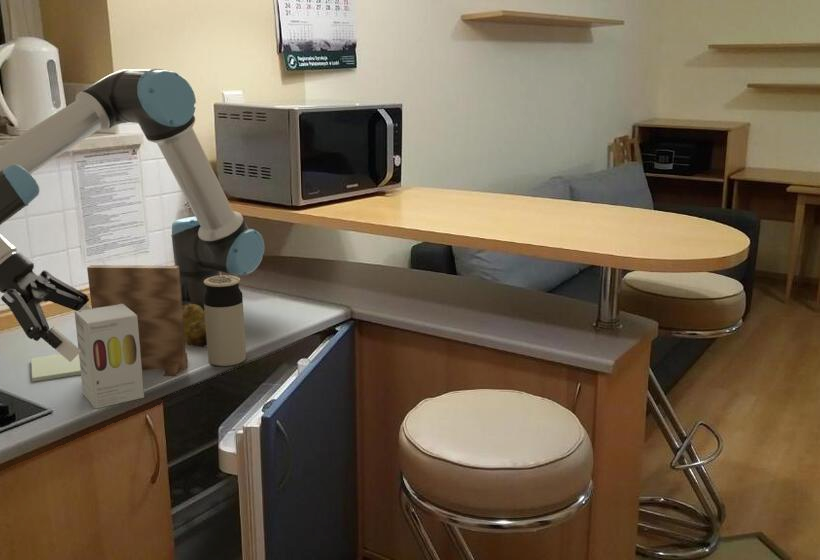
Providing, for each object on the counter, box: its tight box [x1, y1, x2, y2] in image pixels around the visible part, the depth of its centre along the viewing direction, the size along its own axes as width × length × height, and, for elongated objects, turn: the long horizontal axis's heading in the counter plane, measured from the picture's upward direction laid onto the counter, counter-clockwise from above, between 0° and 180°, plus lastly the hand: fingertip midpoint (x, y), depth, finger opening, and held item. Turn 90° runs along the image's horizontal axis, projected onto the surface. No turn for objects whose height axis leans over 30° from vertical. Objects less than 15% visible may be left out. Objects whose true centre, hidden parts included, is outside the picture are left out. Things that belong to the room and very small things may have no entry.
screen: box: [86, 264, 188, 377], centre depth 162 cm, size 18×8×22 cm, turn 89°
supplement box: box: [74, 304, 145, 409], centre depth 150 cm, size 10×9×17 cm
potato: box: [182, 303, 207, 348], centre depth 180 cm, size 8×13×8 cm, turn 17°
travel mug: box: [204, 274, 247, 367], centre depth 167 cm, size 8×8×18 cm
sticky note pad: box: [30, 353, 81, 383], centre depth 165 cm, size 10×12×1 cm
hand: (92, 343), depth 148 cm, fingers open, 13 cm apart
